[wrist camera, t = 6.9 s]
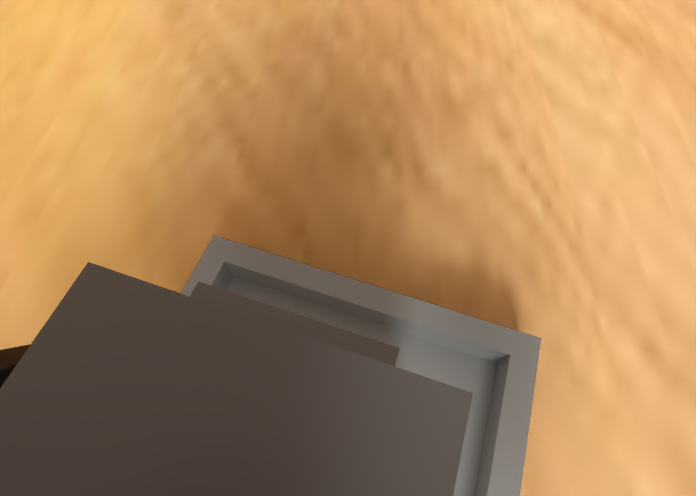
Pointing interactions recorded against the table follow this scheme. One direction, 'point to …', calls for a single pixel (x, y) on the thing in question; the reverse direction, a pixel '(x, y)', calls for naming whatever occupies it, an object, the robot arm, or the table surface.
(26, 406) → the grey-topped stepped block
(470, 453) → the tray
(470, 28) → the table surface
